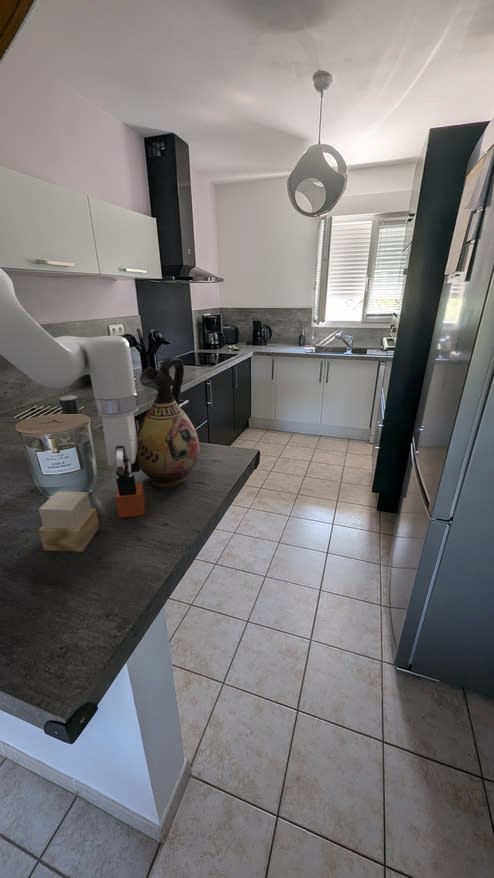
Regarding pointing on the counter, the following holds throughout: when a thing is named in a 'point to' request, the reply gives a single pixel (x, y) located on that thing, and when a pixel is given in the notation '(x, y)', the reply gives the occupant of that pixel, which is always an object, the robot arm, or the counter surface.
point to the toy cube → (131, 503)
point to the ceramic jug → (166, 429)
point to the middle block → (65, 510)
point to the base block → (70, 535)
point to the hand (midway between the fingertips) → (130, 482)
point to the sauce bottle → (69, 404)
